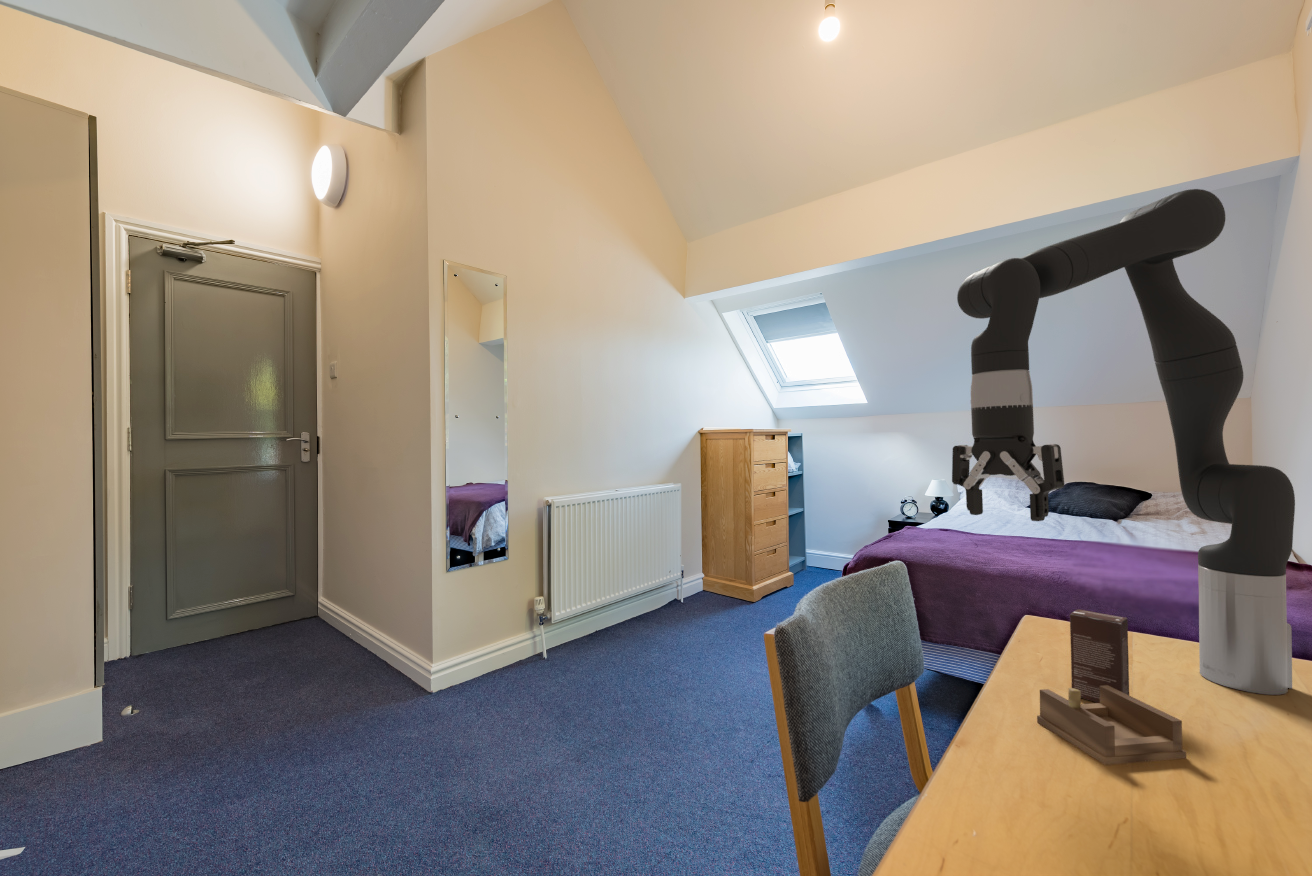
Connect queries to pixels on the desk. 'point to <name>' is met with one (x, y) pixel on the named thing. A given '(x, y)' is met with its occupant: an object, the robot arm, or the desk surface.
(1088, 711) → the drawer
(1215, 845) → the desk surface
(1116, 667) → the box
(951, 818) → the desk surface
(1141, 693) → the desk surface
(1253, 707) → the desk surface
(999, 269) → the robot arm
